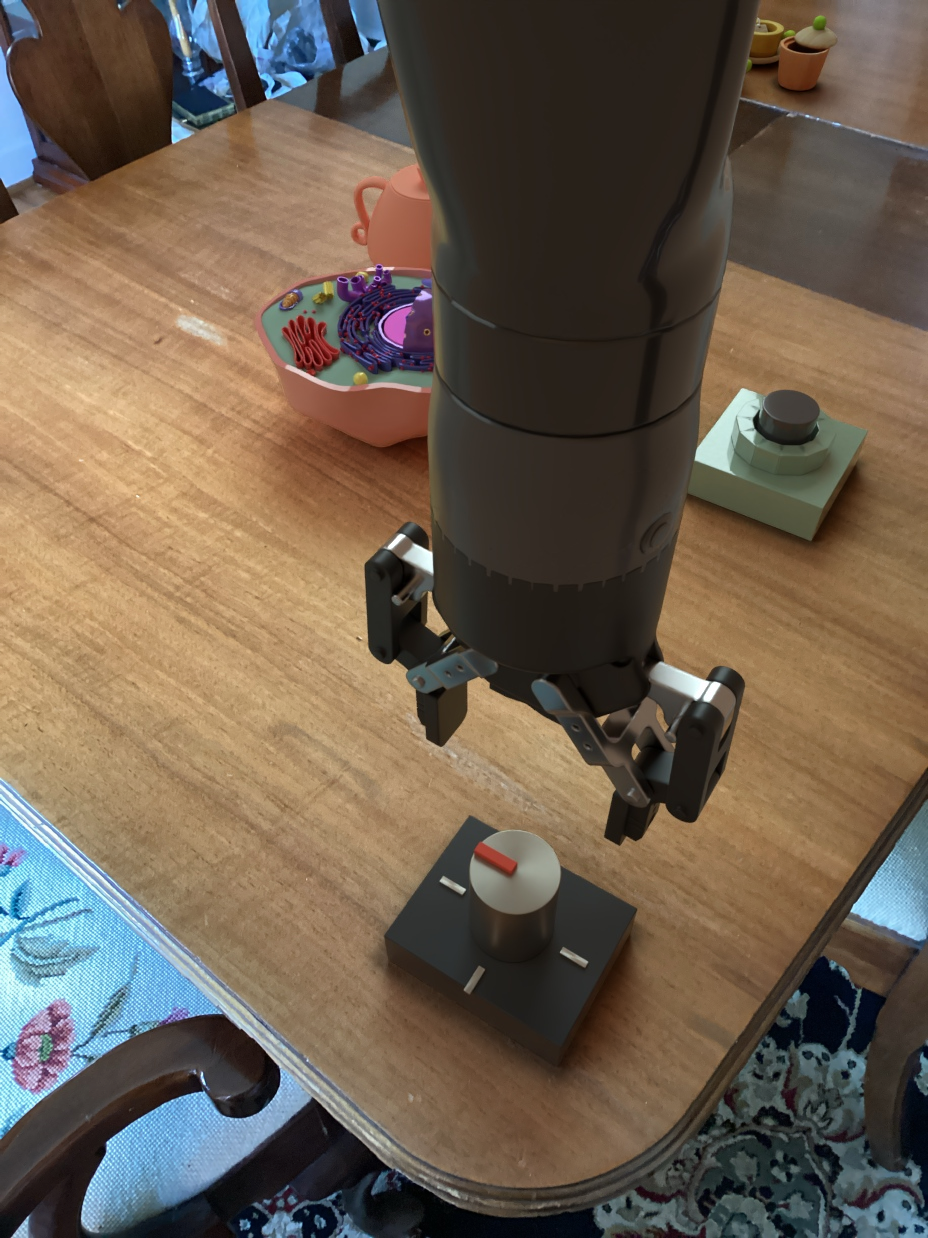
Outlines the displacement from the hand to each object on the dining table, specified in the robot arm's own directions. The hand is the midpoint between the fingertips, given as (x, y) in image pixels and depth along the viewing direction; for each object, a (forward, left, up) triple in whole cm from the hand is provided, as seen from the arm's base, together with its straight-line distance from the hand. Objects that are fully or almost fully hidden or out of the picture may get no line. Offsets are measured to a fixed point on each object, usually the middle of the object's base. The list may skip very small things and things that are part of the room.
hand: (531, 775), depth 42 cm
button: (+2, -41, -10) cm, 42 cm away
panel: (0, +1, -15) cm, 15 cm away
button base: (+2, -41, -15) cm, 43 cm away
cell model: (+31, -32, -15) cm, 47 cm away
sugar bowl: (+41, -52, -15) cm, 67 cm away
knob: (0, +1, -12) cm, 12 cm away
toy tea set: (+36, -112, -15) cm, 118 cm away
